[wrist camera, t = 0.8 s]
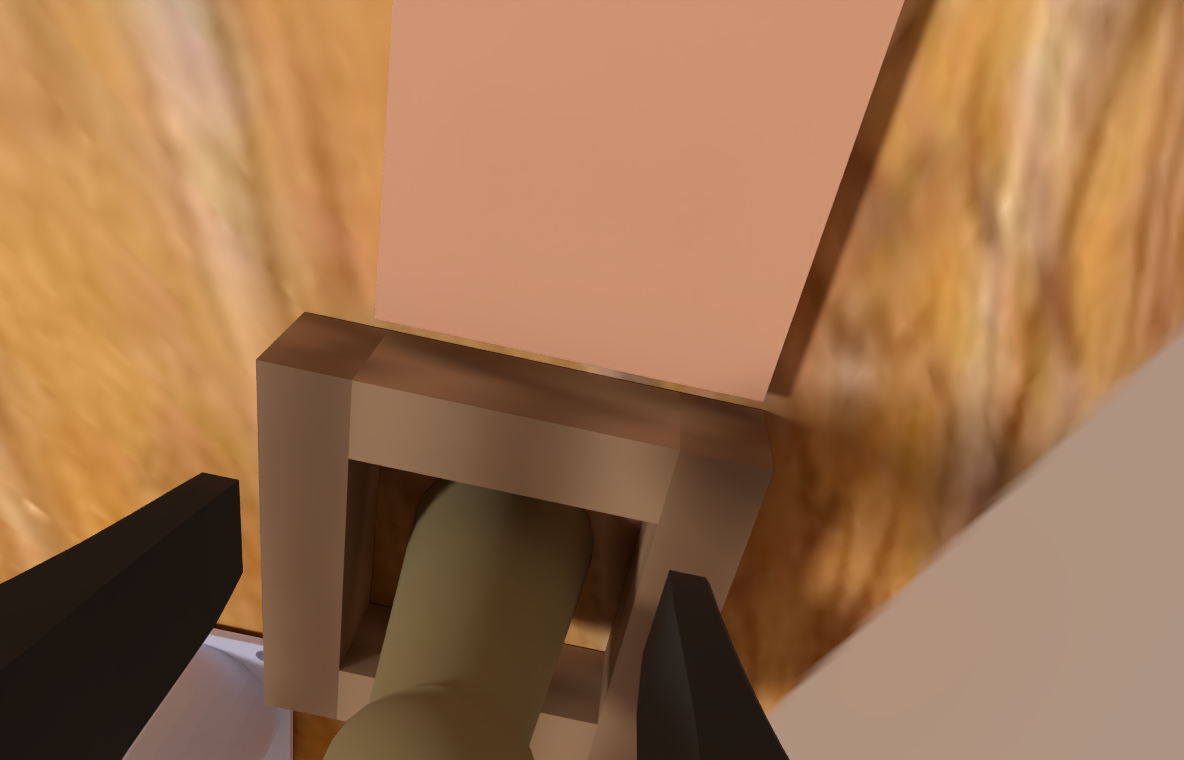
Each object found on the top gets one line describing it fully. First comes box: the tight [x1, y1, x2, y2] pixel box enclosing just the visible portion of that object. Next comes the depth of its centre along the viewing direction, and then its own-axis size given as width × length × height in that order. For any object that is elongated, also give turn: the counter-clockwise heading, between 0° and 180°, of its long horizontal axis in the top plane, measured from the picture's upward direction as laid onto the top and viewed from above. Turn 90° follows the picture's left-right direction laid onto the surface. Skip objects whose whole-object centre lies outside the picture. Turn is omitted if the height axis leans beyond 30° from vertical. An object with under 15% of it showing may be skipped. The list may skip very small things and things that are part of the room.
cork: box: [323, 478, 594, 760], centre depth 21 cm, size 6×6×11 cm
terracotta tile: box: [374, 0, 904, 402], centre depth 19 cm, size 11×11×1 cm
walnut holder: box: [256, 312, 775, 760], centre depth 25 cm, size 14×14×3 cm
